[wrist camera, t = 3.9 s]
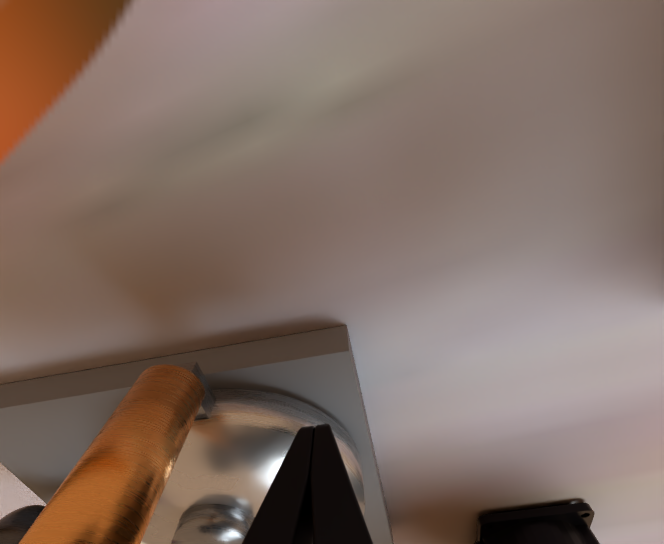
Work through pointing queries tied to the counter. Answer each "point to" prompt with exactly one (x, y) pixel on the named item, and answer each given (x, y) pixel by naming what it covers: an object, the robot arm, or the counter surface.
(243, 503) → the dial
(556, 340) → the counter surface
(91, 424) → the stand
